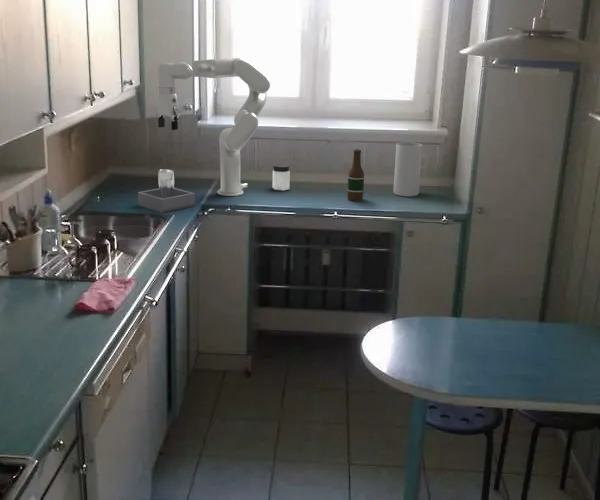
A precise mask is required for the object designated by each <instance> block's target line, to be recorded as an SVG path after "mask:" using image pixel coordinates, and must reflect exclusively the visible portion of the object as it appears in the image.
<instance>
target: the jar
mask: <svg viewBox="0 0 600 500" xmlns="http://www.w3.org/2000/svg"><path fill="white" fill-rule="evenodd" d="M272 166H273V167H272V189H273V190H274V191H287V190H290V184H291V183H290V178H291V176H290V175H291V171H290V164H287V163H275V164H273V165H272Z"/></svg>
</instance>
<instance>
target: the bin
mask: <svg viewBox="0 0 600 500" xmlns="http://www.w3.org/2000/svg"><path fill="white" fill-rule="evenodd" d="M195 196H196V195H195V192H191V191H187V190H184V189H181V188H177V187H174V188H173V197H169V198H164V199H162V198H161V193H160V188H153V189H148V190H144V191H143V190H142V191H137V205H138V206H139V207H143V208H146V209H149V210H151V211H155V212H158V213H161V214H163V213H165V214H166V213H170V212H173V211H178V210H183V209H188V208H193V207H195V206H196V203H195V202H196V200H195V198H196V197H195Z"/></svg>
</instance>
